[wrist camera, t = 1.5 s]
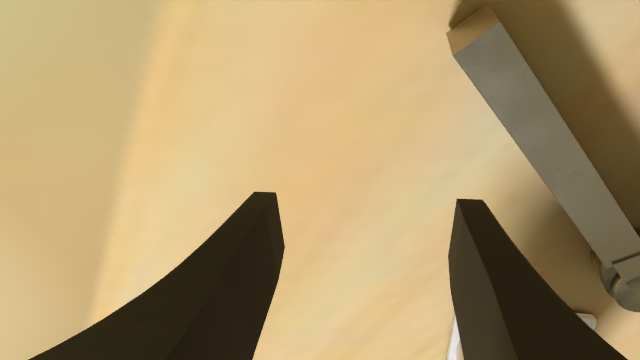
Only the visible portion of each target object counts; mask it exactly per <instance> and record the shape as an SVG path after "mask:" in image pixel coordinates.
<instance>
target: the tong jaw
mask: <svg viewBox="0 0 640 360" xmlns="http://www.w3.org/2000/svg"><path fill="white" fill-rule="evenodd" d="M447 37H448V40H449V44H450V47H451V51H452V54H453V56H454V58H455V59H456V61H457V62H458V63H459V65H460V66H461V67H462V69H463V70H464V72H465V73H466V74H467V76H468V77H469V79H470V80H471V81H472V83H473V84H474V86H475V87H476V88H477V90H478V91H479V92H480V94H481V95H482V97H483V98H484V99H485V101H486V102H487V104H488V105H489V106H490V108H491V109H492V110H493V112H494V113H495V115H496V116H497V117H498V119H499V120H500V122H501V123H502V124H503V126H504V127H505V128H506V130H507V131H508V133H509V134H510V135H511V137H512V138H513V140H514V141H515V142H516V144H517V145H518V146H519V148H520V149H521V151H522V152H523V153H524V155H525V156H526V158H527V159H528V160H529V162H530V163H531V164H532V166H533V167H534V169H535V170H536V171H537V173H538V174H539V176H540V177H541V178H542V180H543V181H544V182H545V184H546V185H547V187H548V188H549V189H550V191H551V192H552V194H553V195H554V196H555V198H556V199H557V200H558V202H559V203H560V205H561V206H562V207H563V209H564V210H565V212H566V213H567V214H568V216H569V217H570V218H571V220H572V221H573V223H574V224H575V225H576V227H577V228H578V230H579V231H580V232H581V234H582V235H583V236H584V238H585V239H586V241H587V242H588V243H589V245H590V246H591V248H592V249H593V250H594V252H595V253H596V254H597V256H598V257H599V259H600V260H601V261H602V263H603V264H604V266H605V267H606V268H609V267H612V266H614V268H615V269H616V271H617V272H618V273H617V274H616V275H615V276H614V277H613V278H612V280H611V283H610V288H611V291H612V293H613V295H614V297H615V299H616V301H617V303H618V304H619V305H620V306H621V307H622V308H624V309H627V310H629V311H634V312H640V238H639V236H638V235H637V233H636V232H635V230H634V228H633V227H632V225H631V224H630V222H629V221H628V219H627V218H626V216H625V214H624V213H623V211H622V210H621V208H620V207H619V205H618V204H617V202H616V200H615V199H614V197H613V196H612V194H611V193H610V191H609V190H608V188H607V187H606V185H605V183H604V182H603V180H602V179H601V177H600V176H599V174H598V173H597V171H596V169H595V168H594V166H593V165H592V163H591V162H590V160H589V159H588V157H587V156H586V154H585V152H584V151H583V149H582V148H581V146H580V145H579V143H578V142H577V140H576V138H575V137H574V135H573V134H572V132H571V131H570V129H569V128H568V126H567V125H566V123H565V121H564V120H563V118H562V117H561V115H560V114H559V112H558V111H557V109H556V107H555V106H554V104H553V103H552V101H551V100H550V98H549V97H548V95H547V94H546V92H545V90H544V89H543V87H542V86H541V84H540V83H539V81H538V80H537V78H536V76H535V75H534V73H533V72H532V70H531V69H530V67H529V66H528V64H527V63H526V61H525V59H524V58H523V56H522V55H521V53H520V52H519V50H518V49H517V47H516V45H515V44H514V42H513V41H512V39H511V38H510V36H509V35H508V33H507V32H506V30H505V28H504V27H503V25H502V24H501V22H500V21H499V19H498V18H497V16H496V14H495V13H494V11H493V10H492V8H491V7H490V5H489V4H488V3H487V4H486V5H484V6H483V7H482V8H480V9H479V10H477V11H476V12H475V13H473V14H472V15H471V16H469V17H468V18H466V19H465V20H464V21H462V22H461V23H460V24H458V25H457V26H455V27H454V28H453V29H451V30H450V31H449V32H447Z"/></svg>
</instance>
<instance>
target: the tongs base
mask: <svg viewBox="0 0 640 360" xmlns="http://www.w3.org/2000/svg"><path fill="white" fill-rule="evenodd" d="M634 230H635V232H636V233H637V235H638V236H639V238H640V229H637V228H634ZM591 260H592V262H593V264H594V266H595V268H596V270H597V272H598V274H599V276H600V278H601V280H602V283H603V285H604V287H605V289H606V291H607V292H608V293H609V294H610V295H611V296H613V297H614V295H613V293H612V291H611V288H610V283H611V280H612V278H613V277H614V276H615V275H616V274H617V273H618V272H617V271H616V269H615V268H614V266H612V267H609V268H606V267H605V266H604V264H603V263H602V261H601V260H600V259H599V257H598V256H597V254H596V253H595V252H594V250H593V249H592V250H591ZM614 298H615V297H614Z"/></svg>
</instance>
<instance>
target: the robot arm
mask: <svg viewBox="0 0 640 360" xmlns="http://www.w3.org/2000/svg"><path fill="white" fill-rule="evenodd" d="M284 248H285V246H284V239H283V233H282V227H281V221H280V215H279V208H278V202H277V196H276V193H274V192H254V193H253V194H252V195H251V196H250V197H249V198H248V199H247V200H246V201H245V202H244V203H243V204H242V205H241V206H240V207H239V208H238V209H237V210H236V211H235V212H234V213H233V214H232V215H231V216H230V217H229V218H228V219H227V220H226V221H225V222H224V223H223V224H222V225H221V226H220V227H219V228H218V229H217V230H216V231H215V232H214V233H213V234H212V235H211V236H210V237H209V238H208V239H207V240H206V241H205V242H204V243H203V244H202V245H201V246H200V247H199V248H198V249H196V250H195V251H194V252H193V253H192V254H191V255H190V256H189V257H187V258H186V259H185V260H184V261H183V262H182V263H181V264H180V265H178V266H177V267H176V268H175V269H174V270H172V271H171V272H170V273H169V274H167V275H166V276H165V277H164V278H162V279H161V280H160V281H158V282H157V283H156V284H154V285H153V286H152V287H150V288H149V289H148V290H146V291H145V292H143V293H142V294H141V295H139V296H138V297H136V298H135V299H133V300H132V301H130V302H129V303H127V304H126V305H124V306H122V307H121V308H119V309H118V310H116V311H115V312H113V313H112V314H110V315H109V316H107V317H106V318H104V319H102V320H101V321H99V322H97V323H96V324H94V325H92V326H91V327H89V328H87V329H86V330H84V331H82V332H80V333H79V334H77V335H75V336H73V337H71V338H70V339H68V340H66V341H64V342H62V343H61V344H59V345H57V346H55V347H53V348H51V349H49V350H47V351H45V352H43V353H41V354H39V355H37V356H35V357H33V358H31V359H29V360H252V359H253V356H254V352H255V349H256V346H257V343H258V340H259V337H260V334H261V331H262V328H263V325H264V322H265V319H266V316H267V313H268V310H269V307H270V304H271V301H272V298H273V295H274V292H275V289H276V286H277V282H278V279H279V274H280V269H281V264H282V259H283V253H284ZM448 259H449V274H450V287H451V295H452V300H453V306H454V311H455V314H454V320H453V325H452V331H451V336H450V342H449V347H448V353H447V358H446V360H628V359H626V358H625V357H624V356H623V355H621V354H620V353H619V352H618V351H617V350H615V349H614V348H613V347H612V346H611V345H609V344H608V343H607V342H606V341H605V340H604V339H602V338H601V337H600V336H599V335H598V334H597V333H596V332H595V331H594V328H595V326H596V324H597V321H596V319H595V317H594V316H593V315H591V314H583V313H575V312H574V311H573V310H572V309H571V308H570V307H569V306H568V305H567V304H566V303H565V302H564V301H563V300H562V299H561V298H560V297H559V296H558V295H557V294H556V293H555V292H554V291H553V289H552V288H551V287H550V286H549V285H548V284H547V283H546V282H545V281H544V279H543V278H542V277H541V276H540V275H539V274H538V273H537V271H536V270H535V269H534V268H533V267H532V266H531V264H530V263H529V262H528V261H527V259H526V258H525V257H524V256H523V254H522V253H521V252H520V251H519V249H518V248H517V247H516V246H515V244H514V243H513V242H512V240H511V239H510V238H509V236H508V235H507V234H506V232H505V231H504V229H503V228H502V227H501V225H500V224H499V222H498V221H497V220H496V218H495V217H494V215H493V214H492V212H491V211H490V209H489V208H488V206H487V205H486V203H485V202H484V201H483V200H475V199H457V202H456V208H455V215H454V221H453V228H452V235H451V241H450V248H449V255H448Z"/></svg>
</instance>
